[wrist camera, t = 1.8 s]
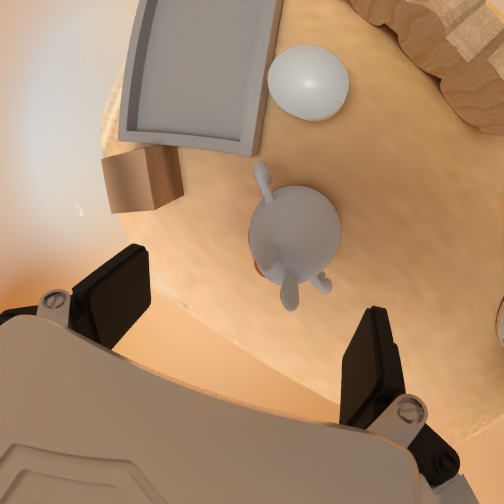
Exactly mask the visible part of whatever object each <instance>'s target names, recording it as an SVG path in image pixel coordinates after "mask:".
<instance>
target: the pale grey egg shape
mask: <svg viewBox="0 0 504 504" xmlns="http://www.w3.org/2000/svg"><path fill="white" fill-rule="evenodd" d="M268 88H269V91H270V94H271V96H272V98H273V99H274V101H275V102H276V103H277V105H278V106H279V107H281V108H282V109H283V110H284V111H286V112H287V113H289V114H291V115H294V116H296V117H298V118H301V119H303V120H307V121H314V122H317V121H323V120H327V119H329V118H331V117H333V116H334V115H335V114H337V113H338V112H339V110H340V109H341V107H342V106H343V103H344V101H345V98H346V96H347V93H348V89H349V78H348V74H347V71H346V69H345V67H344V65H343V64H342V62H341V61H340V60H339V59H338V58H337V57H336V56H335V55H334V54H333V53H331V52H330V51H328V50H326V49H324V48H321V47H318V46H314V45H299V46H295V47H292V48H289V49H287V50H285V51H283V52H282V53H281V54H279V55H278V56H277V57H276V59H275V60H274V61H273V63H272V64H271V66H270V69H269V72H268Z"/></svg>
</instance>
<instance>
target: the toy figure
mask: <svg viewBox="0 0 504 504" xmlns="http://www.w3.org/2000/svg"><path fill="white" fill-rule="evenodd" d="M254 176H255V179H256V181H257V182H258V185H259V188H260V191H261V193H262V196H263V198H264V199H263V200H262V201H261V202H260V204H259V205H258V206H257V208H256V210H255V212H254V214H253V217H252V220H251V224H250V229H249V232H248V242H249V247H250V250H251V253H252V256H253V259H254V265H255V268H256V270H257V272H258V273H259V274H260V275H261V276H262V277H265V278H267V279H268V280H270V281H271V282H273V283H276V284H279V285H282V287H281V291H280V298H281V301H282V303H283V305H284V307H285V308H286V309H287V310H288V311H294V310H295V309H296V308H297V306H298V304H299V292H298V284H300V283H303V282H306V281H308V280H310V281H311V282H312V284H313V285H314V286H315V287H316V288H317V289H318V290H319V291H320V292H321V293H324V294H327V293H329V292H330V291H331V289H332V283H331V281H330V280H329V279H328V278H325V273H324V272H321V271H323V270H324V269H325V268H326V266H327V265H328V264H329V263H330V262H331V260H332V259H333V257H334V256H335V254H336V252H337V249H338V247H339V243H340V238H341V224H340V219H339V216H338V213H337V211H336V209H335V208H334V206H333V205H332V203H331V202H330V201H329V200H328V199H327V198H326V197H325V196H324V195H323V194H321V193H320V192H318V191H316V190H314V189H312V188H309V187H305V186H297V185H294V186H286V187H282V188H279V189H277V190H275V191H273V192H271V190H270V188H269V185H268V184H269V183H270V182H271V181H272V177H271V176H270V175H269V172H268V167H267V165H266V164H265V163H264V162H262V161H259V162H257V163H256V164H255V166H254ZM317 275H318V276H317Z"/></svg>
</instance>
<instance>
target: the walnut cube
mask: <svg viewBox="0 0 504 504" xmlns="http://www.w3.org/2000/svg"><path fill="white" fill-rule="evenodd" d="M101 161H102V167H103V173H104V179H105V184H106V188H107V194H108V199H109V204H110V208H111V212H112V214H113V213H124V212H136V211H150V210H156V209H158V208H160V207H162V206H164V205H165V204H167V203H169V202H171V201H173V200H175V199H177V198H179V197H181V196H183V195H184V191H183V185H182V178H181V172H180V165H179V158H178V151H177V146H171V145H160V146H154V147H149V148H143V149H139V150H135V151H131V152H127V153H123V154H119V155H115V156H111V157H107V158H104V159H101Z"/></svg>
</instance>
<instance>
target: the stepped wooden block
mask: <svg viewBox="0 0 504 504" xmlns="http://www.w3.org/2000/svg"><path fill="white" fill-rule="evenodd" d="M350 2H351V5H352V7H353V9H354V10H355V11H356V12H357V13H358V14H359V15H360V16H361V17H362V18H364V19H365V20H366V21H368V22H370V23H371V24H373V25H375V26H381V25H382V24H383V23H385V24H386V25H387V26H389V27H390V28H391V29H392V30H393V31H394V32H396V33H397V34H398V43H399V45H400V47H401V49H402V50H403V51H404V53H405V54H406V55H407V56H408V57H409V58H410V59H411V60H412V61H413V62H414V63H415V64H416V65H417V66H418V67H419V68H421V69H422V70H424V71H425V72H427V73H429V74H431V75H434V76H436V77H438V78H441V79H442V80H441V83H440V89H441V92H442V94H443V96H444V98H445V100H446V101H447V103H448V104H449V105H450V107H451V108H452V109H453V110H454V111H455V112H456V113H457V115H458V116H460V117H461V118H462V119H463V120H464V121H465V122H467V123H469V124H471V125H472V126H477V127H478V129H479V130H480V131H481V132H482V133H484V134H489V135H496V136H503V137H504V24H503V23H502V22H501V21H500V19H499V18H498V17H497V16H496V15H495V14H494V12H493V11H492V10H491V9H490V8H489V7H488V6H487V5H486V4H485V0H350Z"/></svg>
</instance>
